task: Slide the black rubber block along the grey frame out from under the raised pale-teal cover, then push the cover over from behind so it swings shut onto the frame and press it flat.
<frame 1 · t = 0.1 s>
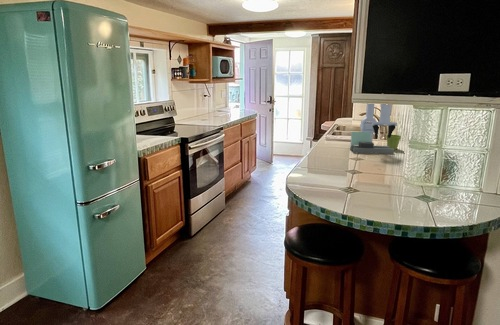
hand: (382, 137, 206), 10 cm above the worktop, tool pointing down, fingers open, 7 cm apart
plant pot: (392, 148, 223), on the worktop
block: (365, 151, 213), on the worktop
grey frame: (371, 151, 213), on the worktop
cover: (360, 138, 216), point 7 cm above the worktop, hinge at 106.0°
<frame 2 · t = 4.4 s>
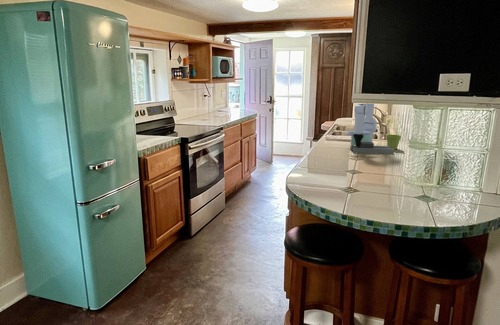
hand: (357, 146, 212), 3 cm above the worktop, tool pointing down, fingers closed
block: (365, 151, 213), on the worktop, touching gripper
cover: (360, 138, 216), point 7 cm above the worktop, hinge at 104.6°
everything else where it was.
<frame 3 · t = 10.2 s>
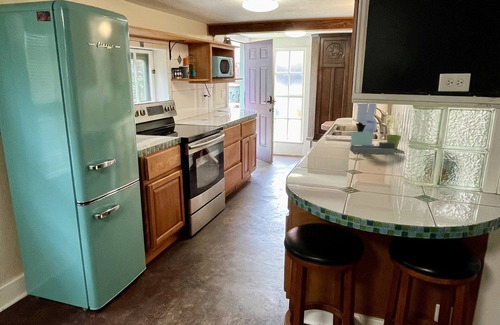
hand: (359, 134, 218), 9 cm above the worktop, tool pointing down, fingers closed, pressing on cover
block: (385, 152, 213), on the worktop
cover: (360, 138, 216), point 7 cm above the worktop, hinge at 104.5°, touching gripper
everything else where it was.
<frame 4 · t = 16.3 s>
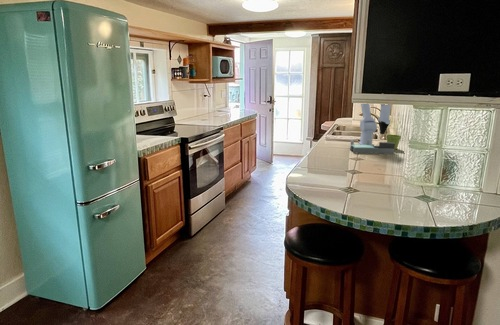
hand: (382, 133, 217), 10 cm above the worktop, tool pointing down, fingers closed
cover: (362, 146, 212), point 3 cm above the worktop, hinge at 0.6°
everything else where it was.
at the end: cover at +1° (first picture: +106°); block inside the target area (1.7 cm from its centre), on the worktop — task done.
